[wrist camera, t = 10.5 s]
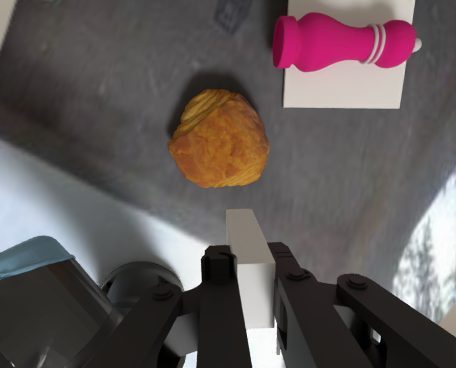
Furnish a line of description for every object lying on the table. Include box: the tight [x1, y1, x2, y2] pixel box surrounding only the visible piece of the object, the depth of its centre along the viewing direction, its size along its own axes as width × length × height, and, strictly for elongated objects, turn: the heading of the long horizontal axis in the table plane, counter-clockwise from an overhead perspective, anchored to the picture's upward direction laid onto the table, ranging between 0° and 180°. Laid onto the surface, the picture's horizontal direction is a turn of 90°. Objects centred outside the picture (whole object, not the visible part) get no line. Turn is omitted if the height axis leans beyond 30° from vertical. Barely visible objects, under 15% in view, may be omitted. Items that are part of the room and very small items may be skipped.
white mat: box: [283, 0, 415, 108], centre depth 42 cm, size 18×16×1 cm
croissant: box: [168, 89, 270, 188], centre depth 43 cm, size 14×16×8 cm
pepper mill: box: [273, 12, 422, 72], centre depth 39 cm, size 7×7×20 cm
